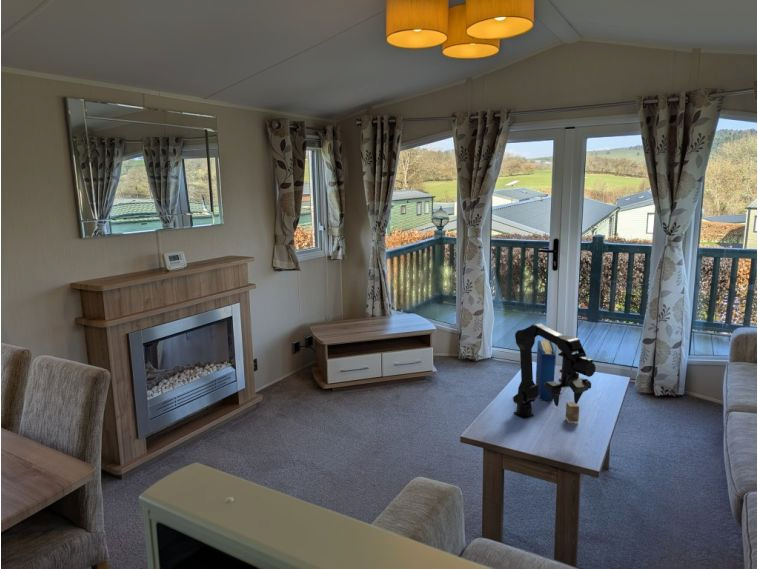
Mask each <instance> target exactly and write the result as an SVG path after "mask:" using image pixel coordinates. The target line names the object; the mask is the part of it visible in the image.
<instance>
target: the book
mask: <svg viewBox="0 0 758 569" xmlns="http://www.w3.org/2000/svg"><path fill="white" fill-rule="evenodd" d="M554 345H555V344H554V343H552V342H550V341H548V340H537V345H536V346H537V347H536V348H537V349H536V368H535V385H538V392H539V394H538V397H539V400H540V401H543V402H552V401H554V400H553V398H552V395H551V393H550V392H549V391H548V390H546V389H545V388H544V385H545V383H546V382H551V381H554V382H555V370H556V356H557V355H556V350H555V349H556V348H555V346H554Z"/></svg>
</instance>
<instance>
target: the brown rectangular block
mask: <svg viewBox="0 0 758 569" xmlns="http://www.w3.org/2000/svg"><path fill="white" fill-rule="evenodd" d="M565 403H566V405H565V418H564V419H565V421H566V420H567V421H566V422H567V423H568V424H569V423H575V424H574V425H578V424H579V421H580V420H579V418H580V417H579V416H580V406H579V404H578V403H577V404H575V402H574V401H565ZM576 423H577V424H576Z"/></svg>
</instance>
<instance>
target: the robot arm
mask: <svg viewBox="0 0 758 569" xmlns="http://www.w3.org/2000/svg"><path fill="white" fill-rule="evenodd" d="M514 333H515V334H514V337H515V344H516V346H517V347H518V348H519V354H520V360H519V361H520V378H521V381H520V383H519V385H518V388H517V393H516V394H515V395H514V396H512V400H513V403H515V404H516V411H514V412H513V414H514V415H515V416H518V417H520V418H521V419H527V418H530V417H534V416H535V414H533V412H532V411H533V407H532V403H533V402H534V403H535V402H536V399H537V398H538V397H539V395H538V394H539V392H538V385H536V382H534V376H533V375H534V374H533V373H534V372H533V353H532V351H533V350H532V349H533V347H534V345H535V341H536V337H538V336H539V337H541V338H543V339H545V341H548V342H549V341H550V342H552V343H553V345H556V347H557V348H558V350H560V351H561V352H559V353H558V356H559V357H562V360H561V362H562V363H561V368H560V369H559V373H561V375H560V378H558V382H559V383H557V382H556V381H555V380H554V381H551V382H546V383H545V385H544V388H545V389H546V390H548V391H549V392H550V393H551V395H552V398H553V400H552V401H553V402H554V405H555V407H558V406H559V401H560V396H561V394H562V392H561V391H562V389H566V388H570V389H571V390H572V392H573V400H574V401H573V402H575V404H578V402H579V400H580V398H581V397H582V395H583V393H584V392H586V391H588V390H590V389H592V382H591V381H590V380H589V379H588V378H589V377H592V376H594V374H595V373H596V364H595V363H594V362H593V361H594V360H593V359H592V358H588V357H587V354H586V351H585V350H584V348H583V345H582V343H581V340H580V339H579V338H578V337H574V336H570V335H564V334H562V333H559V332H558V331H555V330H553V329H552V328H549V327H548V326H545V325H544V324H543V323H541V322H540V323H534V324H531V325H530V326H528V327H526V328H524V329H519V330H517V331H516V332H514ZM573 353H574V354H573ZM580 374H581V375H583V376H586V377H588V378H584V377H580Z"/></svg>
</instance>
